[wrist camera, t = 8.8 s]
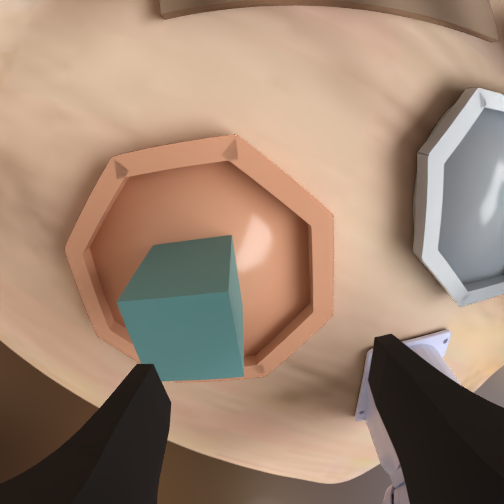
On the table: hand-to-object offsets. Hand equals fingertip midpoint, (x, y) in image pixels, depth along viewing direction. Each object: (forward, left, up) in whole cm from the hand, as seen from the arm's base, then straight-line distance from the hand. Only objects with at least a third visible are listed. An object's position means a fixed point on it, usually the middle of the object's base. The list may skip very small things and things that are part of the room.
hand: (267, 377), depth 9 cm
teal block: (0, +3, -9) cm, 9 cm away
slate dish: (+3, -18, -10) cm, 20 cm away
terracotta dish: (0, +3, -10) cm, 10 cm away
